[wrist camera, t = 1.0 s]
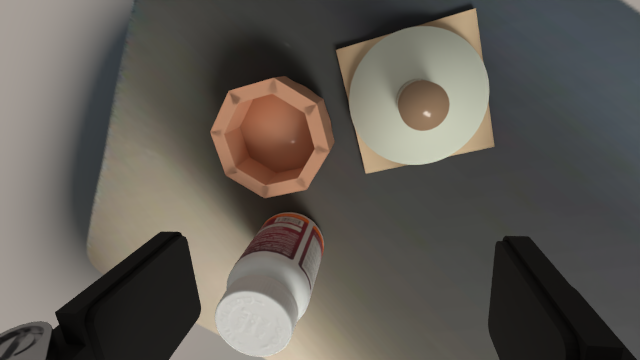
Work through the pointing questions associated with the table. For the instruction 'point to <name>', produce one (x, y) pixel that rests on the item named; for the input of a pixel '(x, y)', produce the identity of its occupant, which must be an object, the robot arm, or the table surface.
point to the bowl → (272, 136)
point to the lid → (419, 95)
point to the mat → (353, 54)
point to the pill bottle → (271, 285)
